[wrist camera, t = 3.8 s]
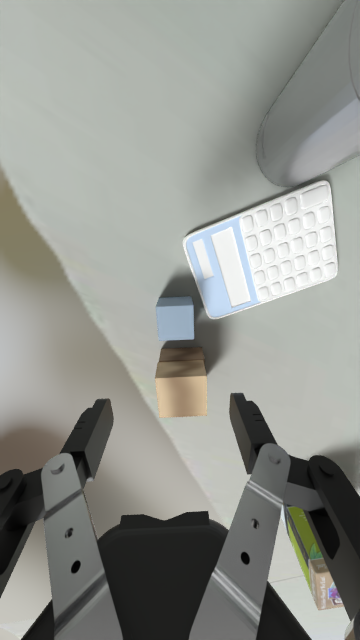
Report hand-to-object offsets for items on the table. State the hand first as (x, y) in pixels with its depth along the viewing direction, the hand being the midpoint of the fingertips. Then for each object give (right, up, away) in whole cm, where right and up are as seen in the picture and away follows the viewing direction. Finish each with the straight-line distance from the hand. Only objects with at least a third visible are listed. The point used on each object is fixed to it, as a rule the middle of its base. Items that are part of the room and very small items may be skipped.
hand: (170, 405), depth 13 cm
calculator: (+12, +15, +16) cm, 26 cm away
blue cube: (0, +7, +19) cm, 20 cm away
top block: (+1, -4, +19) cm, 19 cm away
